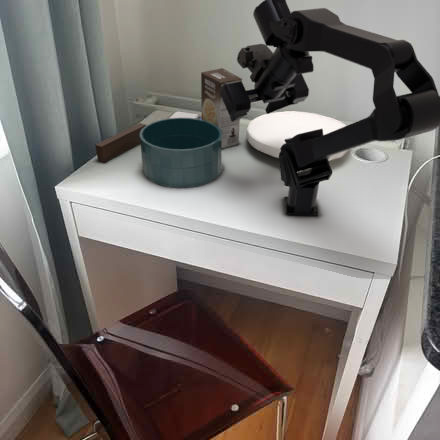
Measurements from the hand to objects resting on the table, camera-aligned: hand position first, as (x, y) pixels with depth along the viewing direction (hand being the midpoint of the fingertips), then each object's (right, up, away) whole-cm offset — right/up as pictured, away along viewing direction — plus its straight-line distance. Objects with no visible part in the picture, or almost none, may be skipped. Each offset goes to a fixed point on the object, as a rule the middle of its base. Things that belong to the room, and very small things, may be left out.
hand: (249, 115), depth 99 cm
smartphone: (-18, +8, +27) cm, 33 cm away
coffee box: (-6, +1, +19) cm, 20 cm away
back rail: (-30, -3, +14) cm, 33 cm away
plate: (+13, -1, +17) cm, 22 cm away
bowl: (-15, -10, +7) cm, 19 cm away
